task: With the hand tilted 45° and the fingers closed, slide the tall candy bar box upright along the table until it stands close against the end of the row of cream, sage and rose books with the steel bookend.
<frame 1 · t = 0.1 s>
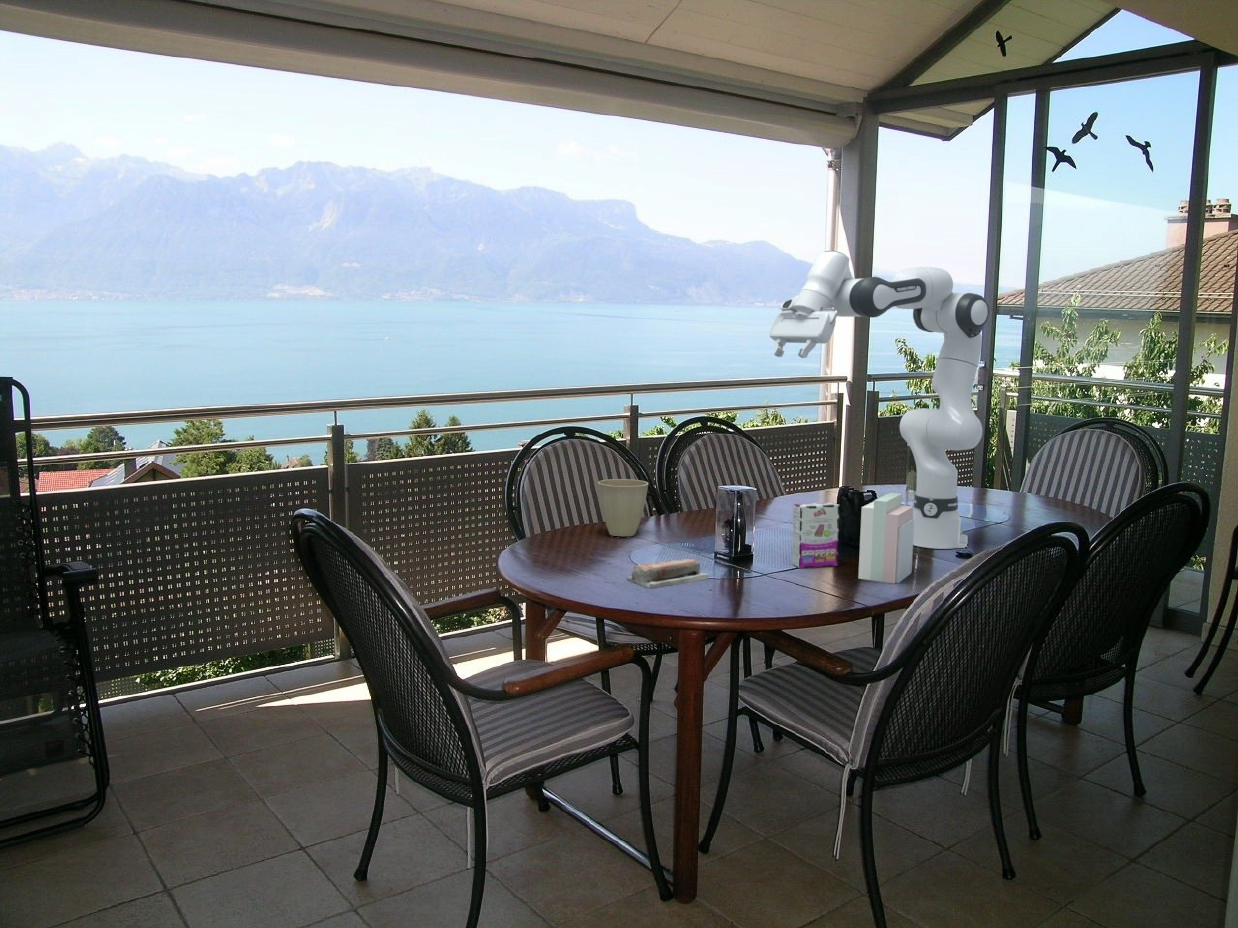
hand: (789, 356, 245), 54 cm above the table, tool tilted 30°, fingers open, 8 cm apart
candy bar box: (814, 566, 253), on the table
packaged product: (668, 582, 237), on the table
book row: (884, 575, 244), on the table
plant pot: (622, 535, 288), on the table
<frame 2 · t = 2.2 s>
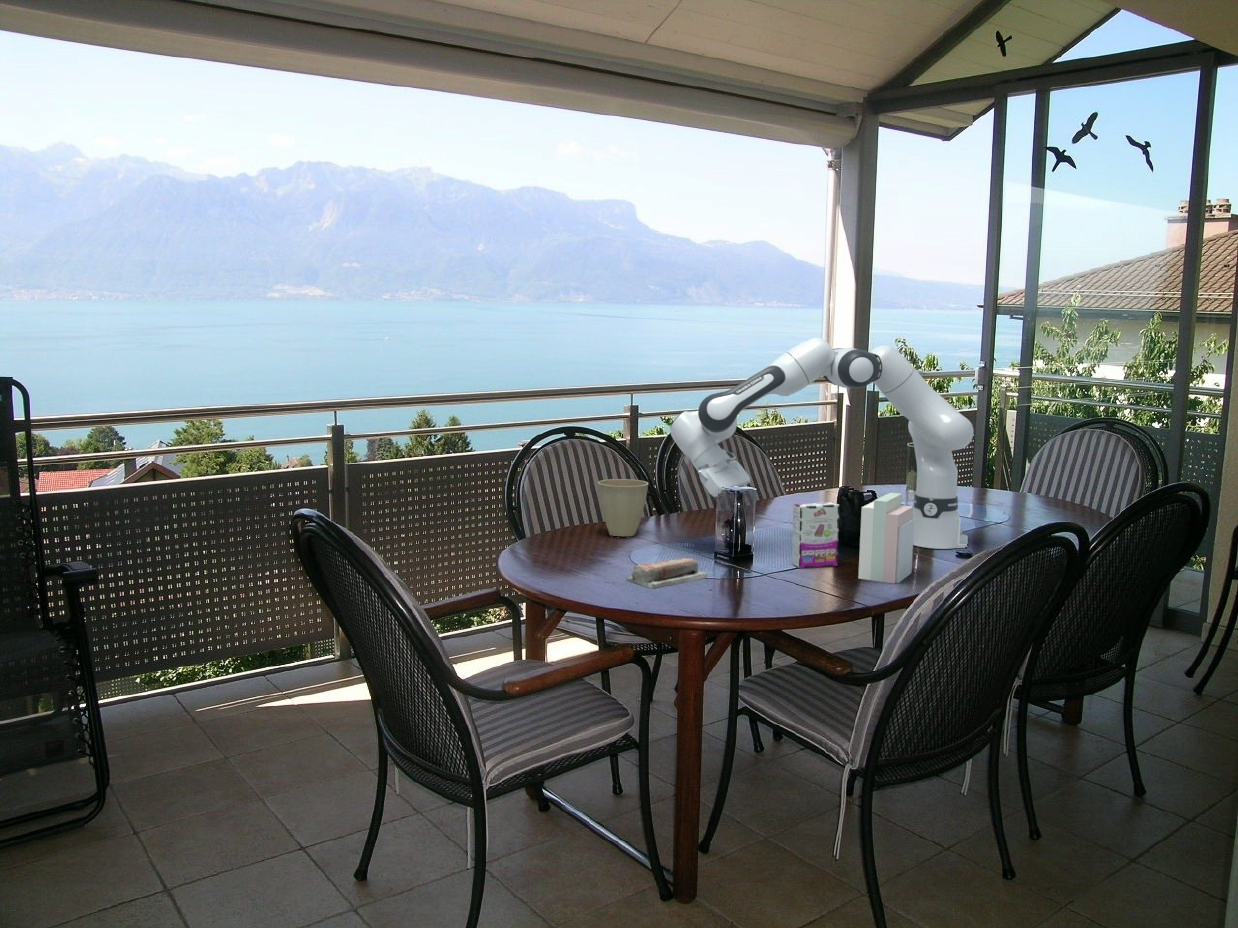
hand: (744, 502, 262), 15 cm above the table, tool tilted 45°, fingers open, 7 cm apart
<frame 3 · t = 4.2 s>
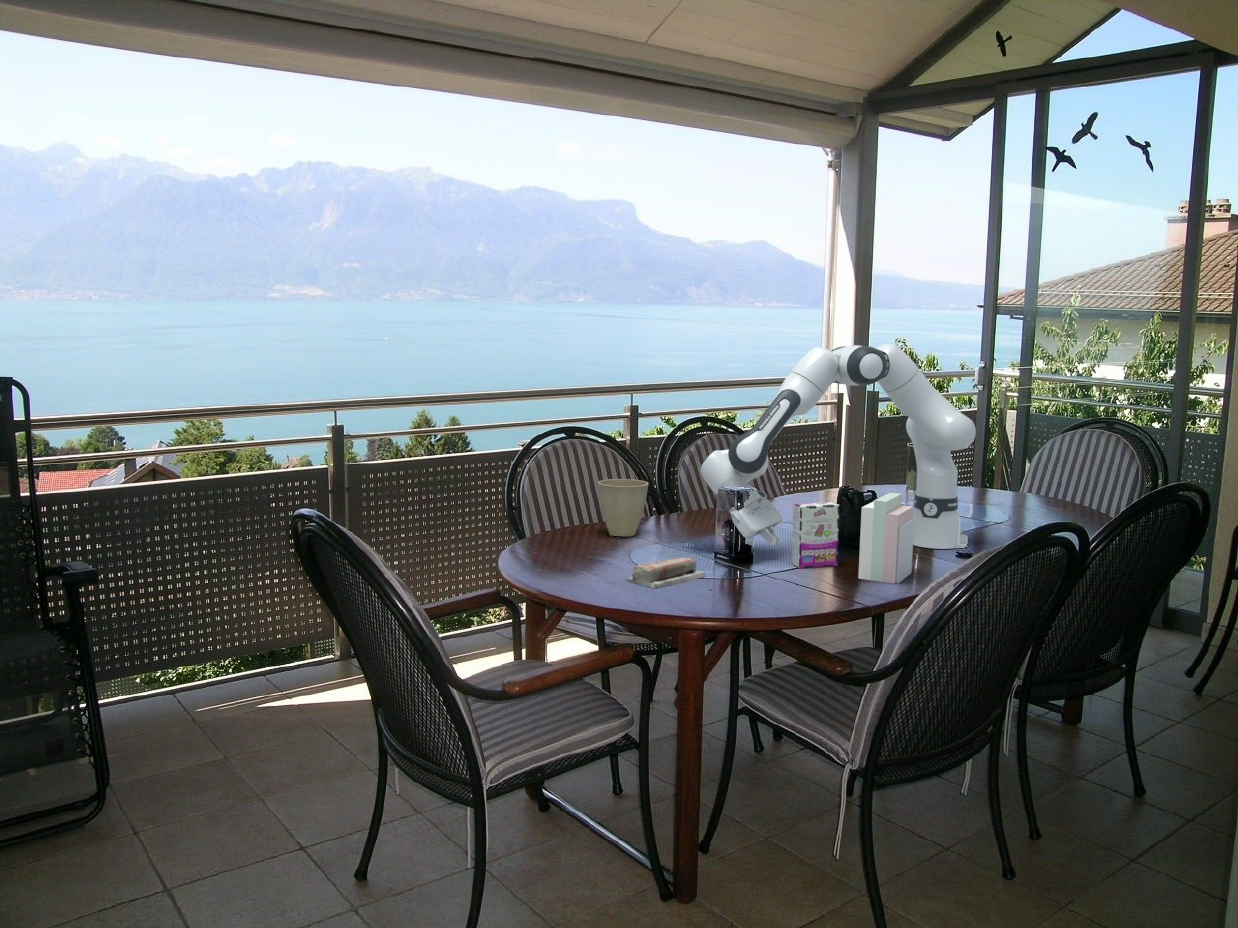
hand: (776, 543, 258), 5 cm above the table, tool tilted 45°, fingers closed
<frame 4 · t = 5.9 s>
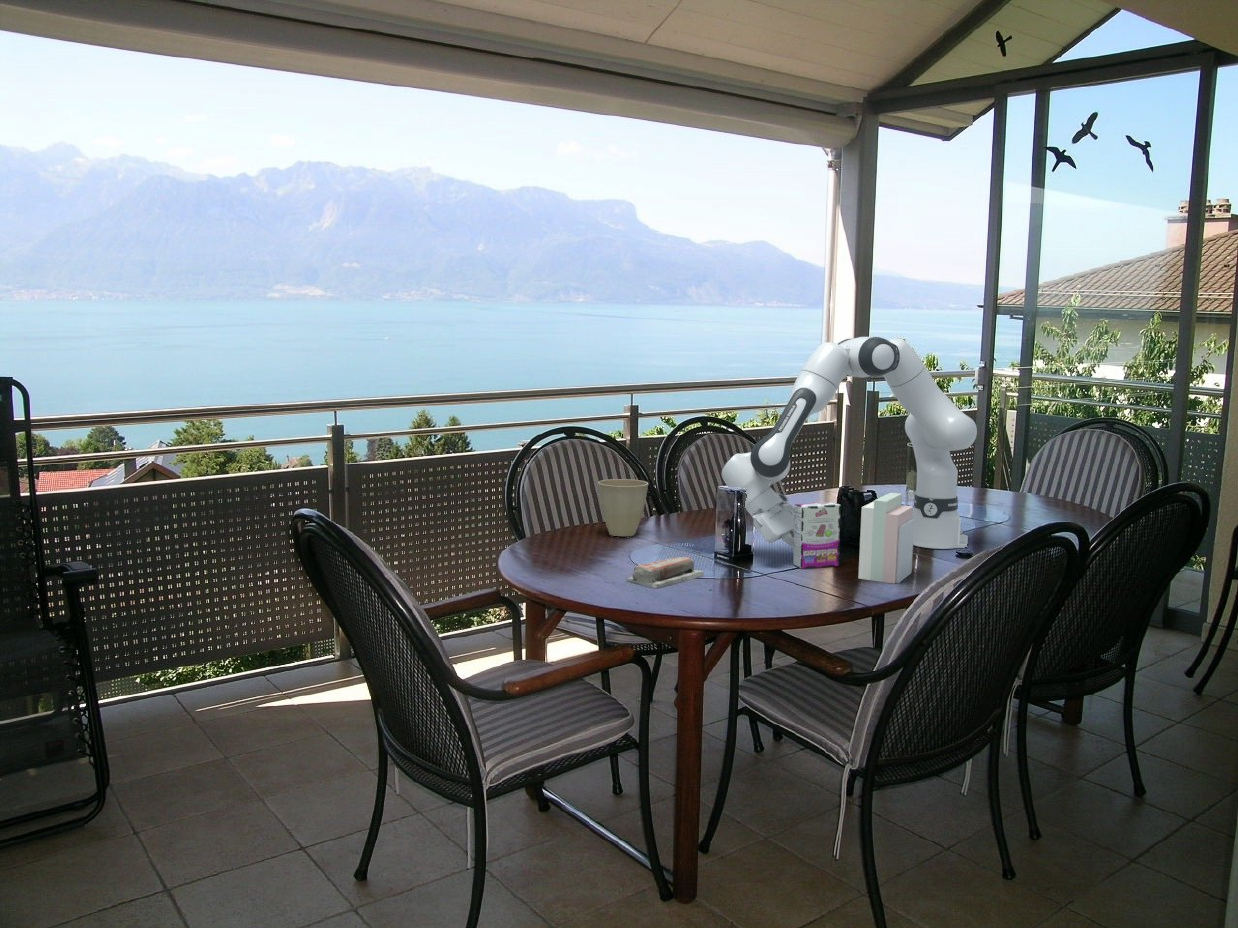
hand: (798, 547, 255), 4 cm above the table, tool tilted 45°, fingers closed
candy bar box: (815, 566, 253), on the table, touching gripper
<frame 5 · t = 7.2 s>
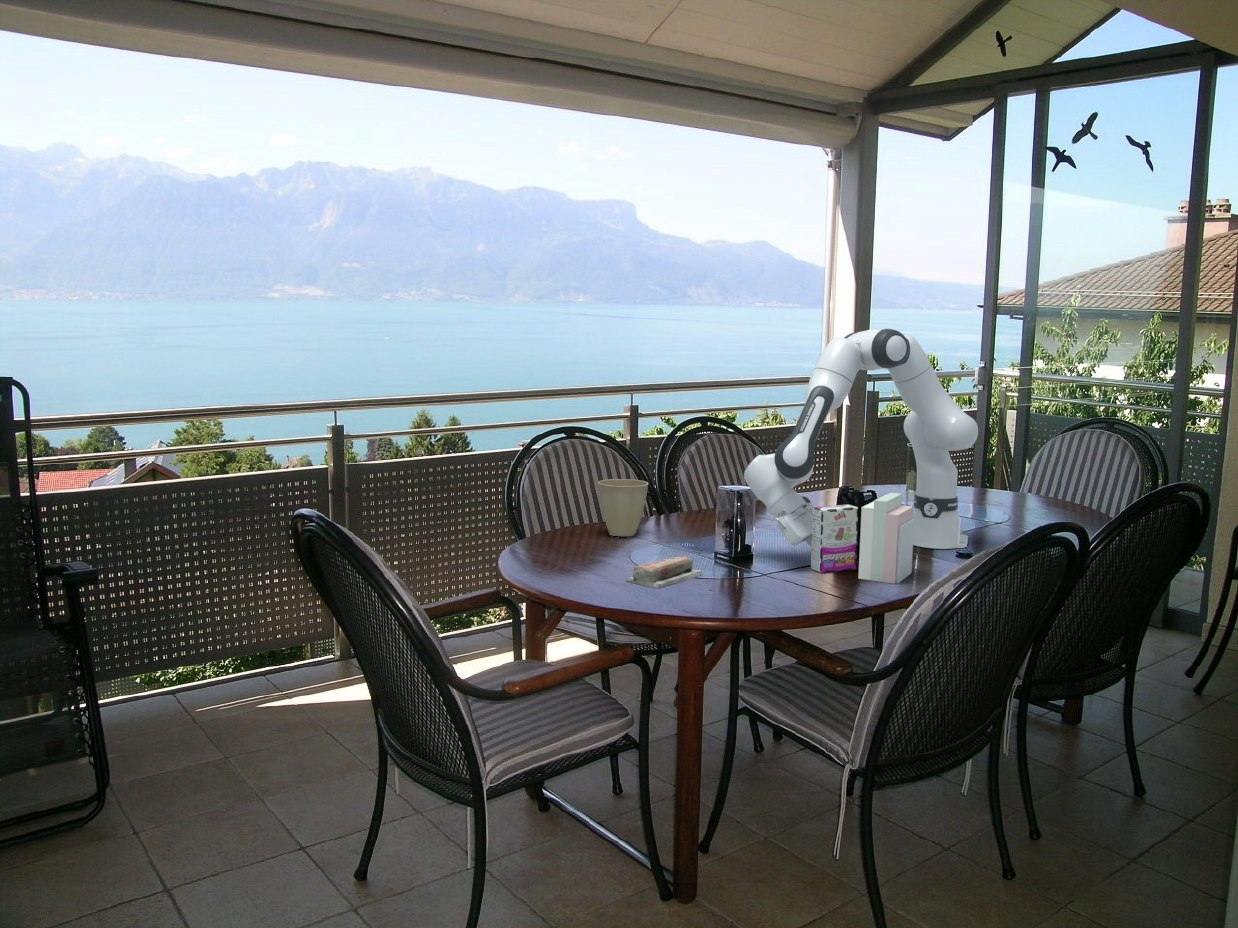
hand: (822, 550, 252), 4 cm above the table, tool tilted 45°, fingers closed
candy bar box: (832, 570, 249), on the table, touching gripper
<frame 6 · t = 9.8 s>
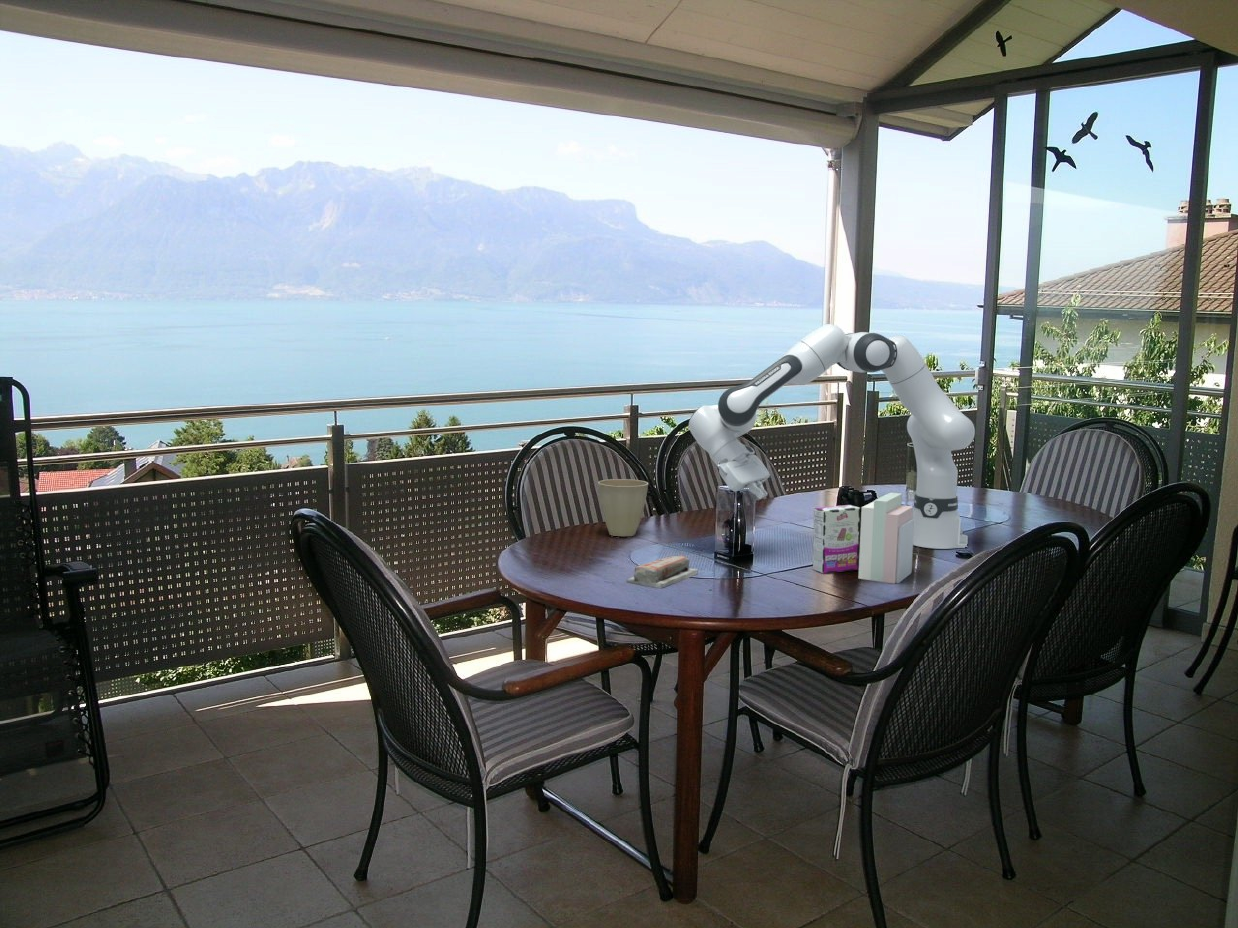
hand: (764, 497, 258), 17 cm above the table, tool tilted 45°, fingers closed
candy bar box: (834, 570, 249), on the table
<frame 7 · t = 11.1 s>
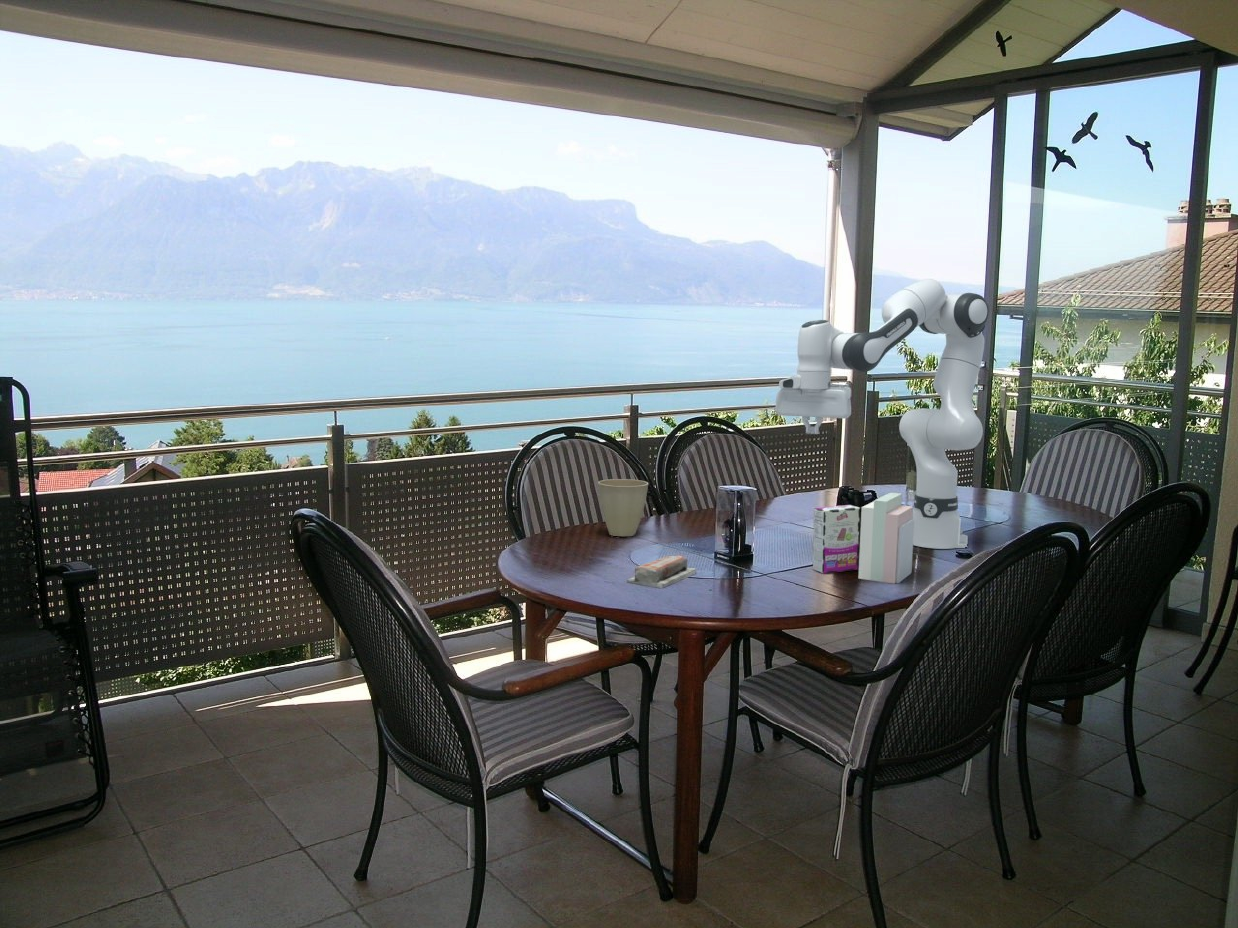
hand: (812, 433, 259), 34 cm above the table, tool pointing down, fingers closed
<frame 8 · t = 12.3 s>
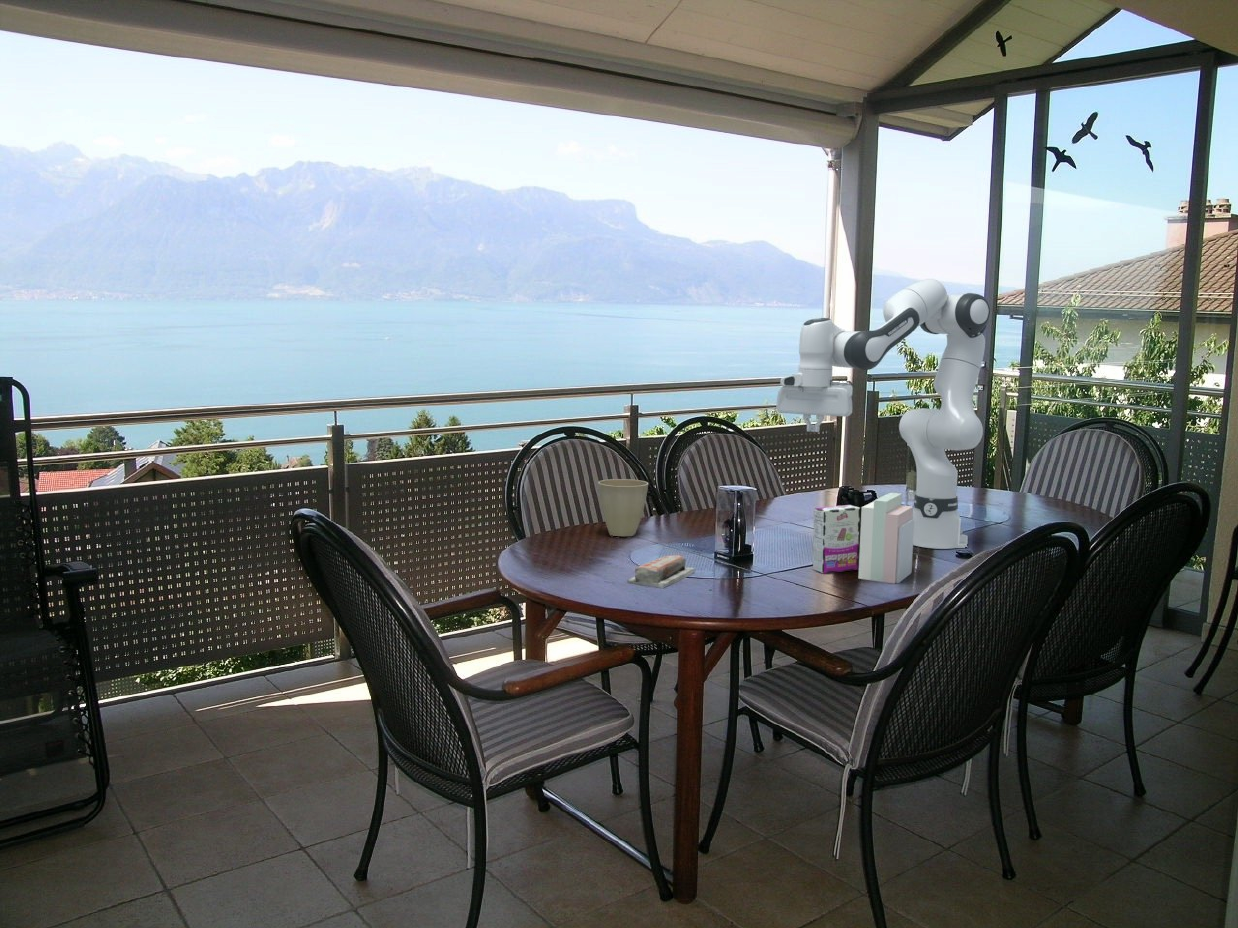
hand: (813, 431, 259), 34 cm above the table, tool pointing down, fingers closed
at the end: candy bar box inside the target area (1.8 cm from its centre), on the table; candy bar box tilted 0°; candy bar box moved 6.4 cm from its start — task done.
